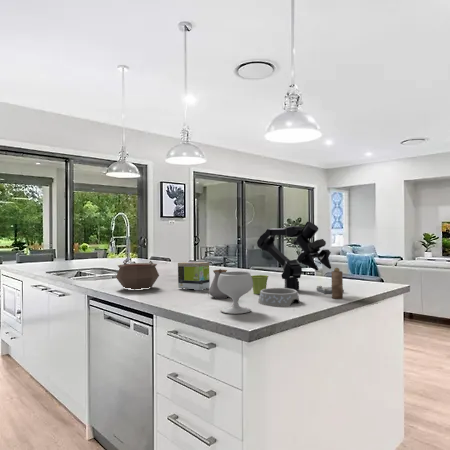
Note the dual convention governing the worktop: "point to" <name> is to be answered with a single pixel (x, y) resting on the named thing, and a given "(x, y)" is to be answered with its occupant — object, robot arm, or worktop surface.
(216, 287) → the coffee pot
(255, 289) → the plant pot
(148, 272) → the brown faceted rounded vessel
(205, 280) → the tea box
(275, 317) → the worktop surface
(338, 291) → the pepper mill
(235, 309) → the chalice
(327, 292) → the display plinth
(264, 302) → the dog bowl
